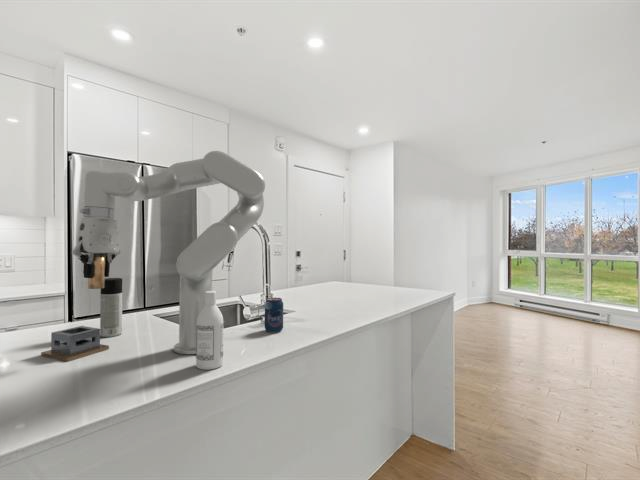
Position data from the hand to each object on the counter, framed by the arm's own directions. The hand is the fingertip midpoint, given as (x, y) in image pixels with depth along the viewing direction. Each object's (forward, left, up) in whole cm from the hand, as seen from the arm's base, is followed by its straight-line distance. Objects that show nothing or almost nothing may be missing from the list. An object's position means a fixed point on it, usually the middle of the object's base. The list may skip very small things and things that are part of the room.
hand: (96, 276), depth 99 cm
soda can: (-33, -45, -23) cm, 61 cm away
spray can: (+17, -17, -23) cm, 33 cm away
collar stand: (+9, 0, -23) cm, 25 cm away
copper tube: (0, 0, -3) cm, 3 cm away
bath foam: (-35, -7, -23) cm, 43 cm away
